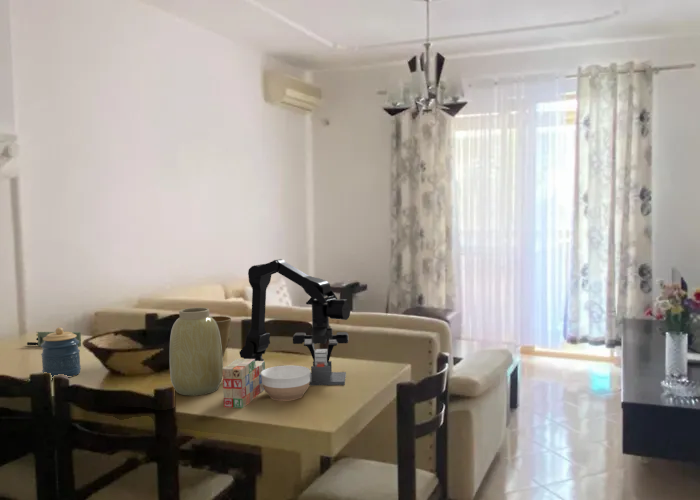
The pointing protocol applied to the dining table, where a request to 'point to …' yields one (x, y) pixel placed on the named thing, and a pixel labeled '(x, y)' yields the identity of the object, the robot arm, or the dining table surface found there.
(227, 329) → the plant pot
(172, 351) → the vase
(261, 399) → the dining table surface
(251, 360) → the stack of blocks
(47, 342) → the canister
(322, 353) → the column
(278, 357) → the dining table surface
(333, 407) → the dining table surface
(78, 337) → the handheld radio
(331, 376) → the grey stepped stand
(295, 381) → the bowl
